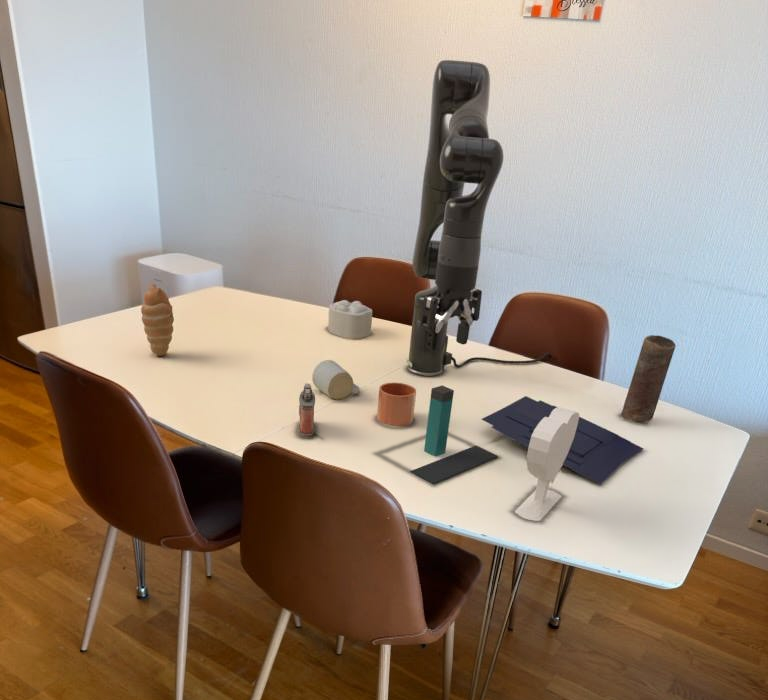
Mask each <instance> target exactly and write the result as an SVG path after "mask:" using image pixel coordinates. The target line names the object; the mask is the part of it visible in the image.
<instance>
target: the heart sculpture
mask: <svg viewBox="0 0 768 700" xmlns="http://www.w3.org/2000/svg"><path fill="white" fill-rule="evenodd" d="M556 407H557V408H555V409H554V410H553V411H552V412H551V414H550V416H549V418H548V417H544V418H543V419H542V420H541V421H540V422H539V424H538V425H537V427H536V428H535V430H534V432H533V434H532V436H531V439H530V443H529V447H527V454H526V469H527V471H528V472H529V474H530V475H532V476H533V477H534V478H536V479H537V482H536V483H537V484H536V488H535V490H533V492H532V493H531V494H530V495H529V496H528V497H527V498H526V499H525V500H524V501H523V502H522V503H521V505H519V506H518V507H517V508H516V509H515V510H514V513H515V514H516V515H518V516H519V517H521V518H522V519H524V520H529V521H536V522H540V521H542V519H544V517H545V516H546V515H547V514H548V512H550V510H551V509H552V508H553V507H554V505H556V504H557V503H558V502H559V500H560V499H561V498H562V495H560V494H559V493H558V492H556V491H554V490H553V489H549V485H550V483H551V484H554V482H555V480H556V478H557V476H558V474H559V472H560V470H561V469H562V467H563V466H564V465H563V463H564V460H565V458H566V456H567V454H568V452H569V449H570V447H571V444H572V442H573V439H574V436H575V432H576V429H577V425H578V420H579V417H580V413H579V412H578V411H574V410H572V409H571V410H570V409H568V408H564V407H559V406H556Z"/></svg>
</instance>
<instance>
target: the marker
mask: <svg viewBox="0 0 768 700" xmlns="http://www.w3.org/2000/svg"><path fill="white" fill-rule="evenodd" d="M430 391H431V393H430V400H429V407H428V415H427V422H426V423H427V425H426V433H425V441H424V449H423V452H425V453H427V454H429V455H431V456H432V457H435V458H436V457H439V456H441V455H443V454H446V450H447V442H448V436H449V429H450V424H451V423H450V422H451V415H452V408H453V402H454V401H453V400H454V393H455V390H454V389H452V388H449V387H447V386H445V385H438V386H435V387H432V388H431V390H430Z"/></svg>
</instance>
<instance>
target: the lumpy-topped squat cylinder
mask: <svg viewBox="0 0 768 700" xmlns="http://www.w3.org/2000/svg"><path fill="white" fill-rule="evenodd" d="M372 322H373V309H372V308H371V307H368V306H366V305H364V304H363V303H362V302H361V301H359V300H354V301H352V302H349V300H346V299H343V300H340V301H336V302H333V303H330V304H329V306H328V322H327V323H328V324H327V325H328V327H327V330H328V332H330V333H331V334H332V335H335V336H337V337H342V338H345V339H349V340H360V339H363V338H364V337H365V338H366V337H368V336H371V334H372Z"/></svg>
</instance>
